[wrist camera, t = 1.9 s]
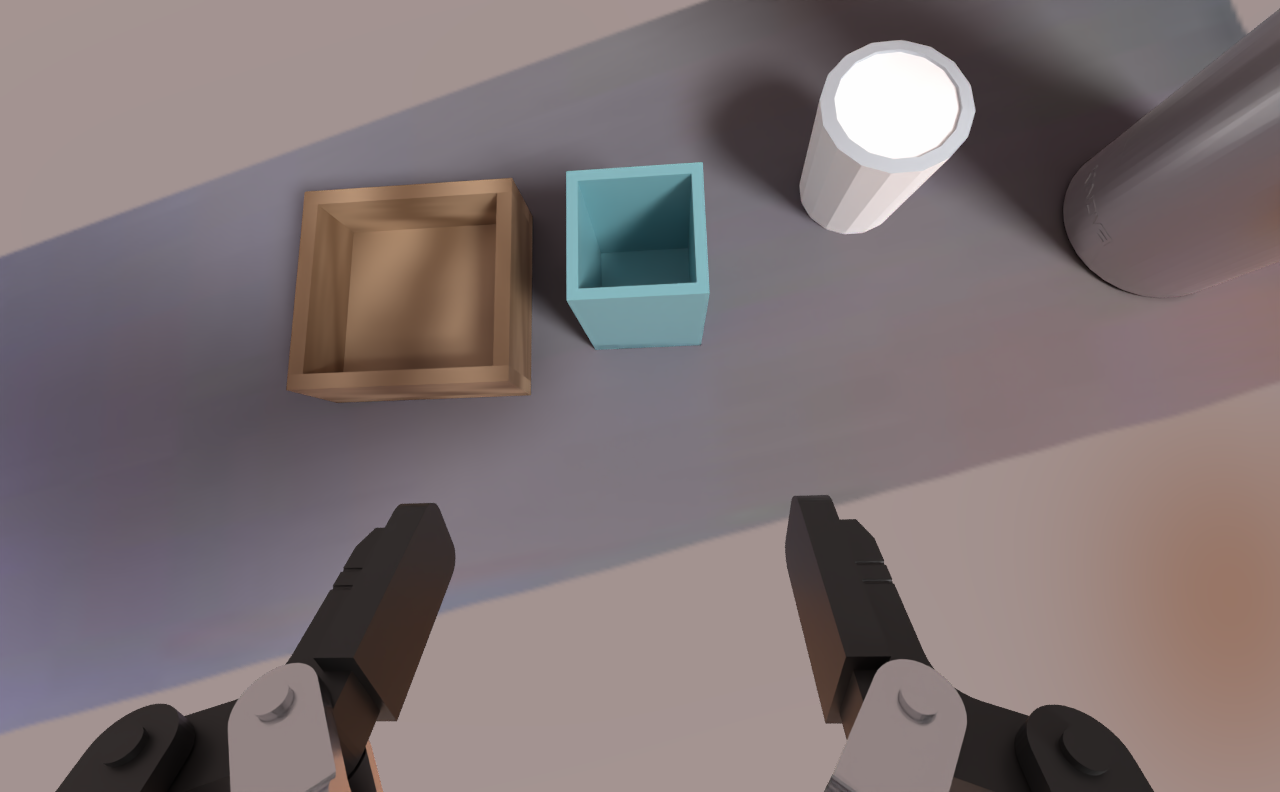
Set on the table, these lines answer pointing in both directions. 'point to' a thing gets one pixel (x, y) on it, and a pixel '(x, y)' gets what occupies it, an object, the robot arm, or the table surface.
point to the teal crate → (638, 255)
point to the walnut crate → (413, 293)
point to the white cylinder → (882, 132)
